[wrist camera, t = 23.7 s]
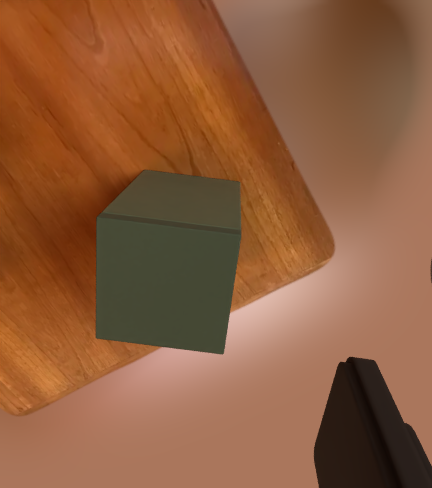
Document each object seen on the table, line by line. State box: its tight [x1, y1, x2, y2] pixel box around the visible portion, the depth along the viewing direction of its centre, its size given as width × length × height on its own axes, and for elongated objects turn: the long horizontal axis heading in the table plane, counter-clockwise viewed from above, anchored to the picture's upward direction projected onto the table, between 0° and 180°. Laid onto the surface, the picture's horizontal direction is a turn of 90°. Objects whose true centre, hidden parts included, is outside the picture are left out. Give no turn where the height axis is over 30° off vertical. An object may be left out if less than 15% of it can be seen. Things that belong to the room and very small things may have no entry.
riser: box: [96, 170, 241, 354], centre depth 34 cm, size 9×9×14 cm
